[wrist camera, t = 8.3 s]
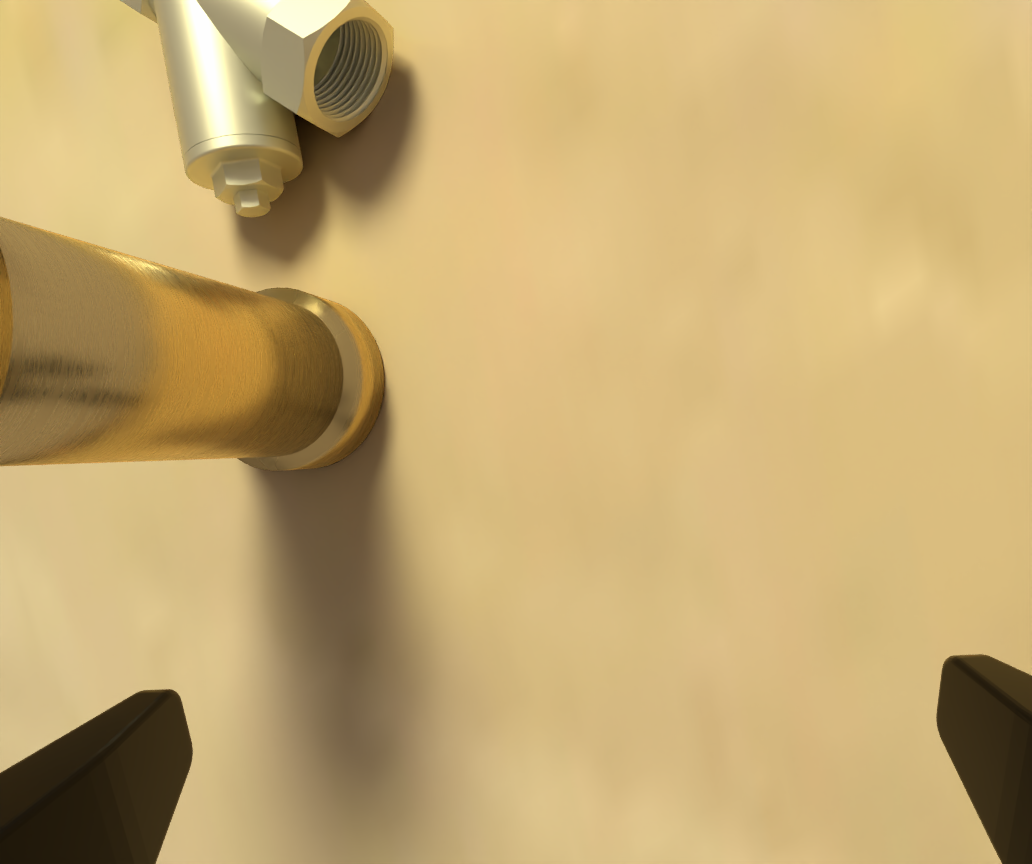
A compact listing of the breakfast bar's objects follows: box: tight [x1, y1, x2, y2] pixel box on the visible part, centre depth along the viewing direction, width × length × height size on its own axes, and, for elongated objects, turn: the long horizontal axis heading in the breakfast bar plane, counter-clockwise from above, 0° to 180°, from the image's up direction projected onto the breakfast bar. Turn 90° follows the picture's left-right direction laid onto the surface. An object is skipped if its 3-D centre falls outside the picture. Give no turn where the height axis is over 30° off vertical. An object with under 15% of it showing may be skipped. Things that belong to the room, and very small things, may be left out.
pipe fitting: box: [120, 0, 394, 217], centre depth 22 cm, size 8×4×7 cm
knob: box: [0, 217, 384, 471], centre depth 16 cm, size 5×5×13 cm
